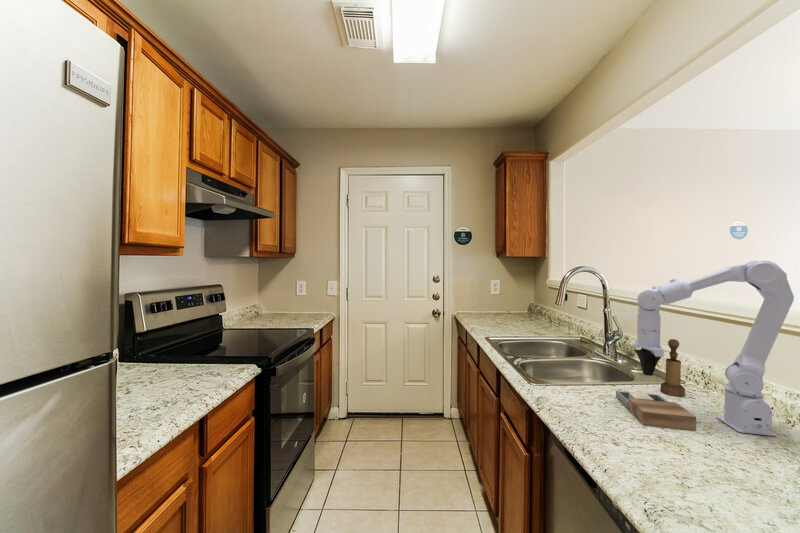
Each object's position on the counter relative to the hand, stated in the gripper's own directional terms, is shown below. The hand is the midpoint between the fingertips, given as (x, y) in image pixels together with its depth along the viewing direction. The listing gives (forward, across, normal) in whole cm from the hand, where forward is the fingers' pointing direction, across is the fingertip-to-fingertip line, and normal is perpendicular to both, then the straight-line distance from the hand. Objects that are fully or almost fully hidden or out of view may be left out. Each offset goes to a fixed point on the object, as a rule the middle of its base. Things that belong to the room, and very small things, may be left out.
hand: (648, 374), depth 107 cm
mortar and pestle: (+10, -15, +13) cm, 22 cm away
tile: (+7, -2, -1) cm, 7 cm away
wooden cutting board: (+10, +10, -1) cm, 14 cm away
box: (+9, -1, -1) cm, 9 cm away
